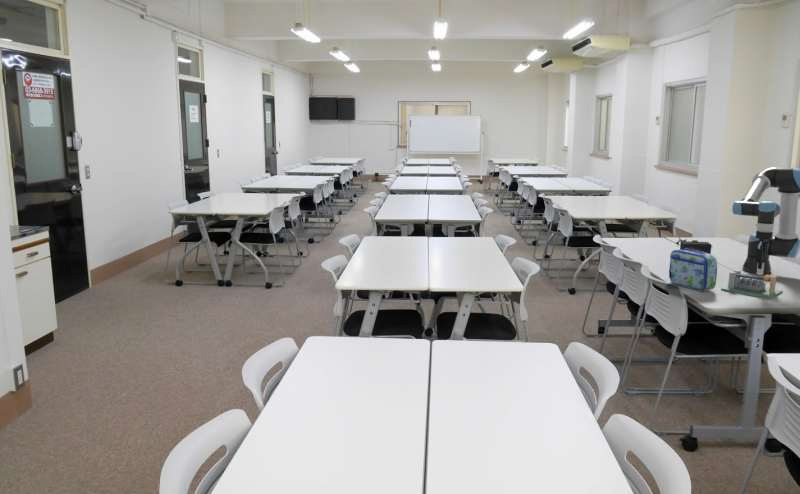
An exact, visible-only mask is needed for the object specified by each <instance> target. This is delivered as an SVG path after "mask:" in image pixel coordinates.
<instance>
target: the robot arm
mask: <svg viewBox="0 0 800 494" xmlns="http://www.w3.org/2000/svg"><path fill="white" fill-rule="evenodd" d="M769 188H774V189H775V188H777V192H778V193H779V194H780V200H779V201H780V204H779V203H777V202H775V201H770V200H769V201H768V200H767V201H765V200H763V201H762V200H761V201H760V199H761V197H762V196H763V194H764V193H765V191H766V190H768V189H769ZM799 194H800V167H799V168H798V167H777V166H776V167H774V166H773V167H769V168H766V169H763V170H761V171H760V172H757V174H755V176H754V177H753V178H752V180H751V185H750V187H749V188H748V190H747V191H746V192H745V194H744V196H743V197H742V199H741V201H740V200H736V201H733V204H732V209H731V211H732V214H733V215H738V216H749V217H757V222H756V224H755V226H756V231H755V233H751V235H749V238H748V243H747V244H748V245H747V254H746V255H747V256H746V259H745V261H744V263H743V265H742V270H743V271H745V272H749V273H754V274H755V273H756V275H757V276H763V275H764V274H770V273H771V272H772V267H771V262H770V256H773V257H778V258H786V259H789V258H790V259H794V258H796V257H797V256H798V254H799V252H800V238H799V235H798V234H797V233H796V229H797V219H798V217H797V216H798V205H799ZM759 201H760V202H759ZM775 217H776V218H777V217H779V218H778V230H777V231H778V232H776V233H775V234H773V233H774V232H773V231H774V228H775V227H774V226H775ZM773 235H774V236H773Z"/></svg>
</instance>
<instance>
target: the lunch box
mask: <svg viewBox="0 0 800 494" xmlns="http://www.w3.org/2000/svg"><path fill="white" fill-rule="evenodd" d="M669 258H670V260H669V269H668V278H669V280H670V282H671V283H670V284H672V283H673V284H672V285H676V284H677V285H678V286H681V287H685V288H688V289H692V290H695V291H707V290H713V289H714V288H715V287H716V284H717V276H718V261H717V258H716V257H715V256H714V255H713V254H712V253H711V254H708V253H705V252H700V251H696V250H690V249H688V248H684V249H682V250H680V249H675V250H672V251H671V253H670V257H669ZM677 285H676V286H677Z"/></svg>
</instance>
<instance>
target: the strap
mask: <svg viewBox="0 0 800 494" xmlns="http://www.w3.org/2000/svg"><path fill="white" fill-rule="evenodd" d="M771 276H773V274H772V275H771V274H766V275H764V276H763V275H753V274H745V273H741V274H736V277H740V278H747V279H749V278H751V279H752V280H755V279H758V281H760V280H764V281H768V282H769V281H770V280H771V279H769V278H770V277H771Z"/></svg>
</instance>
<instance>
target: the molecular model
mask: <svg viewBox="0 0 800 494" xmlns="http://www.w3.org/2000/svg"><path fill="white" fill-rule="evenodd" d="M681 241H688V238H685V239H684V240H682V239H681V236H678V240H677V241H673V243H674V244H676V246H677V247H679V245H680V243H681Z"/></svg>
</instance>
